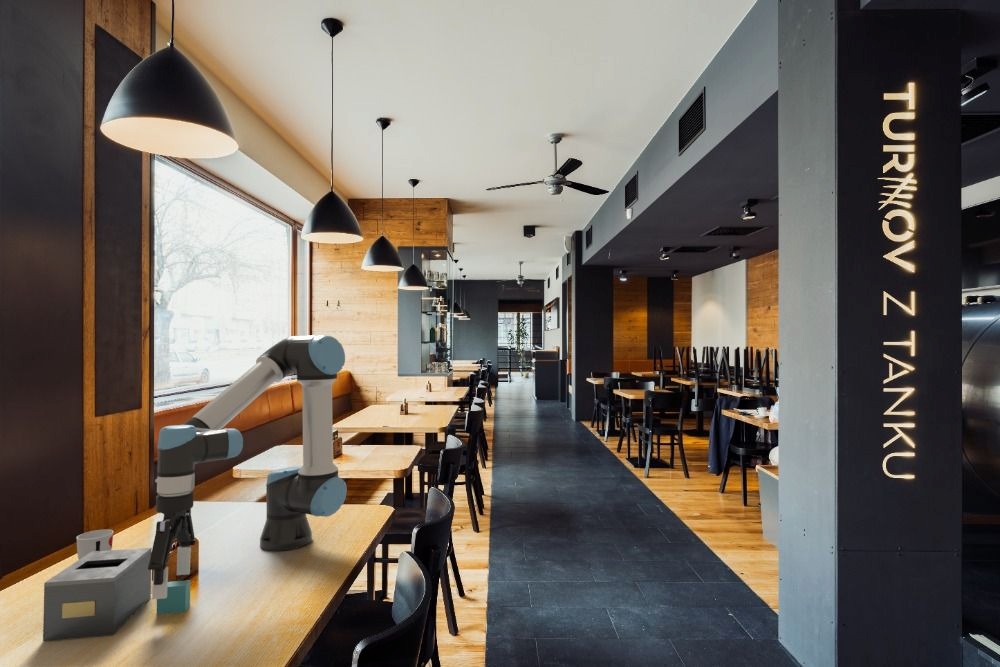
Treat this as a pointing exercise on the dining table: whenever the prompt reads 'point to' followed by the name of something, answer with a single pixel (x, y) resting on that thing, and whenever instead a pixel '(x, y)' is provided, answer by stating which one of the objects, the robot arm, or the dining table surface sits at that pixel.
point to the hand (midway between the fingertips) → (172, 585)
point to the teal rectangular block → (175, 598)
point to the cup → (94, 542)
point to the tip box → (96, 594)
